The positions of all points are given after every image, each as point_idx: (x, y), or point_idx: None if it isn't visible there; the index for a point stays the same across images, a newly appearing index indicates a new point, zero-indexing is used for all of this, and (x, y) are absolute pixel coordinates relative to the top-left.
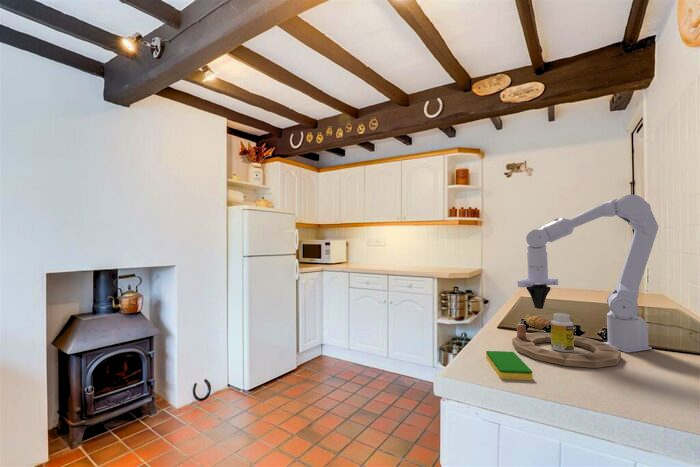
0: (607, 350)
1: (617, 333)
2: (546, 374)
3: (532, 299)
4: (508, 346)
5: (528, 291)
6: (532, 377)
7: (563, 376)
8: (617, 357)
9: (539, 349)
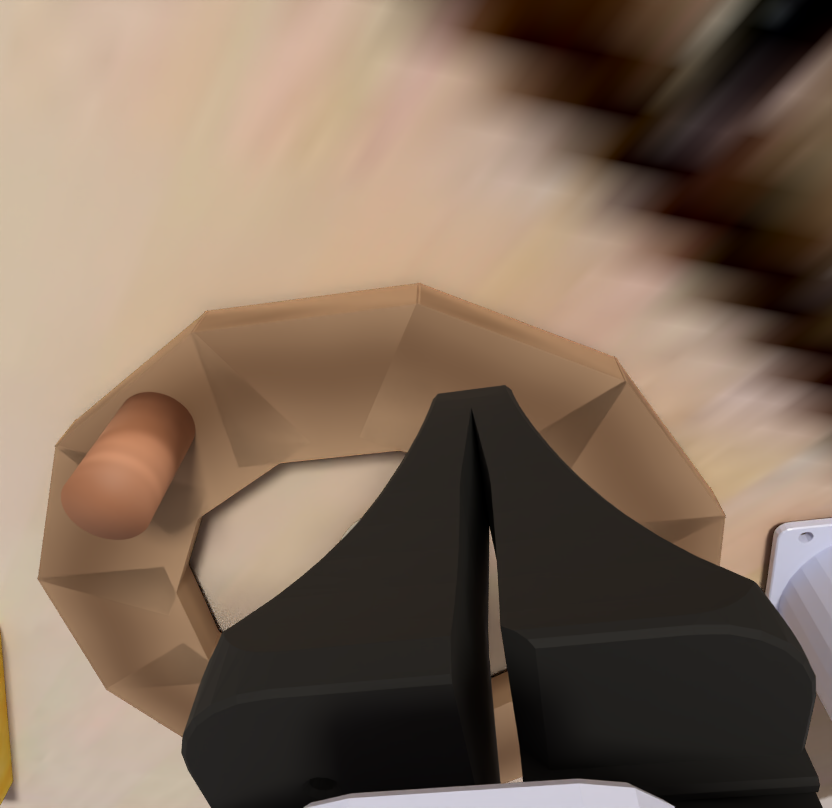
0: None
1: (827, 712)
2: (95, 761)
3: (395, 477)
4: (34, 436)
5: (291, 587)
6: (8, 789)
7: (159, 780)
8: (518, 777)
9: (164, 648)
